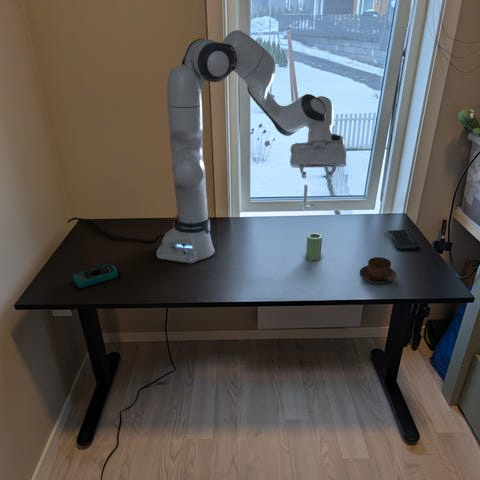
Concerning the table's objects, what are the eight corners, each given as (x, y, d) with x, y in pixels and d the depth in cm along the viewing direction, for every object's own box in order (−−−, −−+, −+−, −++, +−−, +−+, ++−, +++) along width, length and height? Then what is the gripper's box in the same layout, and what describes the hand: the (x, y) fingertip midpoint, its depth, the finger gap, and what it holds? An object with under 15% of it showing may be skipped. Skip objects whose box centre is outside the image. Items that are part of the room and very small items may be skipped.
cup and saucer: (403, 280, 156) (406, 264, 153) (377, 290, 151) (380, 274, 148) (376, 266, 165) (379, 250, 161) (351, 276, 160) (353, 260, 156)
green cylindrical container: (305, 259, 171) (307, 238, 166) (306, 253, 175) (307, 232, 170) (320, 260, 170) (322, 239, 165) (320, 253, 174) (322, 233, 169)
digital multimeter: (120, 277, 165) (118, 270, 163) (79, 289, 158) (76, 282, 157) (113, 269, 170) (111, 262, 168) (73, 281, 164) (71, 273, 162)
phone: (397, 247, 174) (386, 230, 186) (397, 249, 175) (386, 233, 187) (418, 246, 174) (406, 229, 186) (417, 249, 175) (405, 232, 187)
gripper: (290, 138, 168) (287, 173, 166) (347, 136, 163) (345, 173, 161) (291, 147, 174) (289, 181, 172) (347, 145, 169) (345, 181, 167)
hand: (316, 177), depth 167 cm, fingers open, 8 cm apart
